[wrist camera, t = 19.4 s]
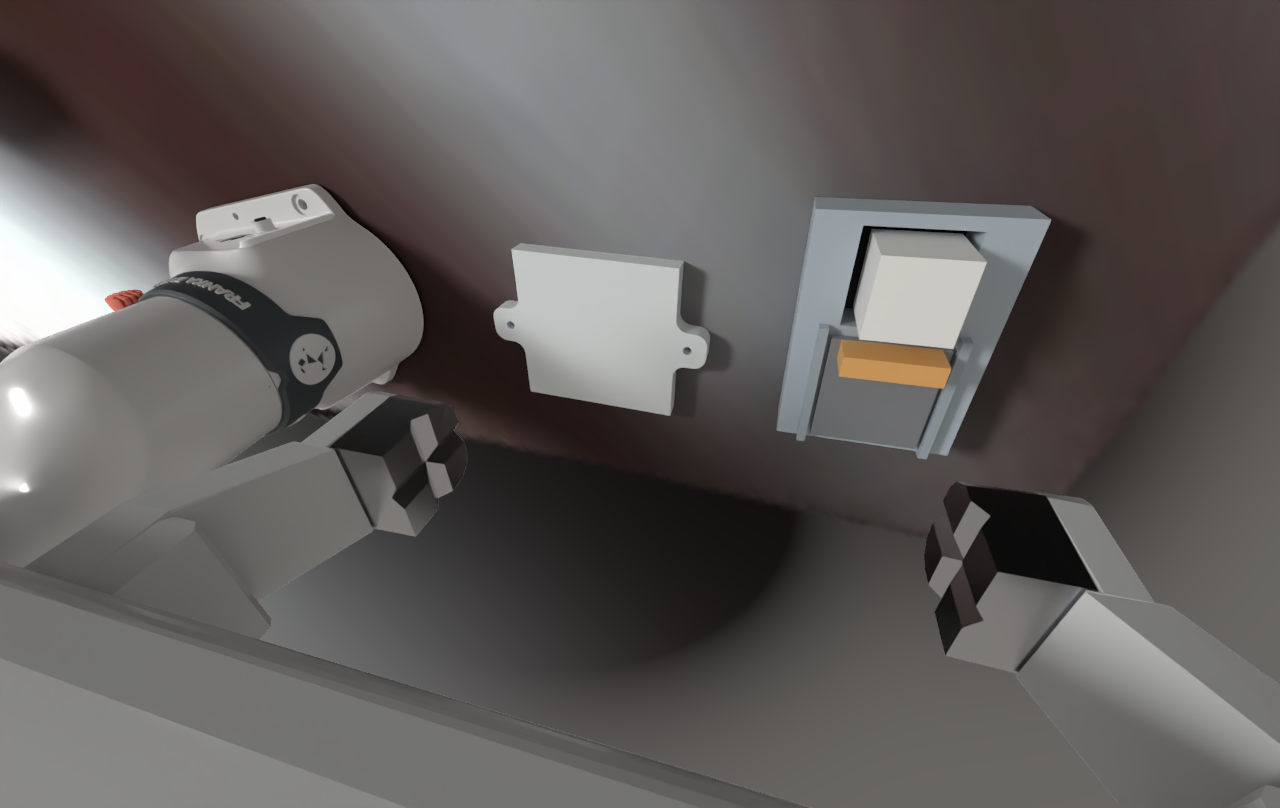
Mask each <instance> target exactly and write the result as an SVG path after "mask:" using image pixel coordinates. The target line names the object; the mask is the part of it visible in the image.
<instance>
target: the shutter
mask: <svg viewBox="0 0 1280 808" xmlns="http://www.w3.org/2000/svg"><path fill="white" fill-rule="evenodd" d="M952 353H953V349H948V348H938V347H929V346H919V345H909V344H899V343H889V342H879V341H869V340H860V339H859V337H854V336H844V335H834V334H831V339H830V343H829V348H828V352H827V357H826V361H825V365H824V370H823V374H822V379H821V383H820V388H819V392H818V396H817V401H816V405H815V410H814V414H813V419H812V423H811V427H810V434H813V435H820V436H827V437H834V438H841V439H848V440H855V441H862V442H869V443H876V444H882V445H889V446H896V447H903V448H910V449H915V448H916V446H917V443H918V440H919V438H920V435H921V433H922V430H923V428H924V425H925V422H926V420H927V417H928V415H929V412H930V410H931V407H932V405H933V402H934V399H935V397H936V394H937V392H938V389H939V388H941V389H944V387H945V384H946V382H947V379H948V377H949V374H950V372H951V366H950V364H949V361H950V358H951V356H952Z"/></svg>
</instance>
